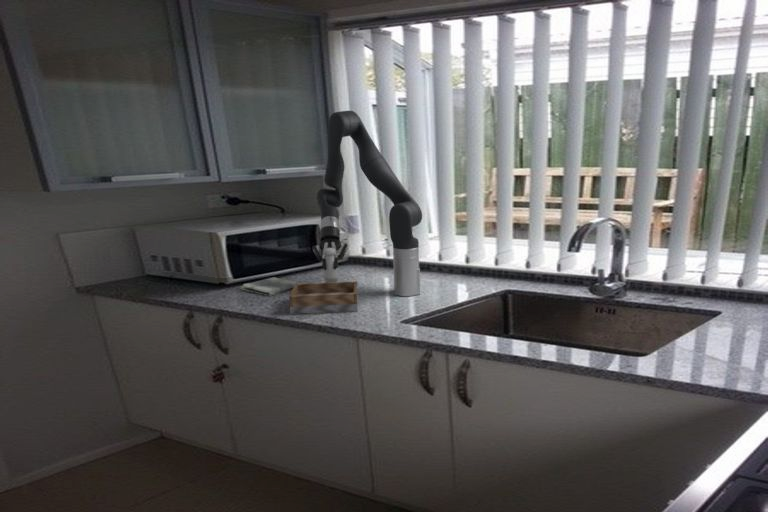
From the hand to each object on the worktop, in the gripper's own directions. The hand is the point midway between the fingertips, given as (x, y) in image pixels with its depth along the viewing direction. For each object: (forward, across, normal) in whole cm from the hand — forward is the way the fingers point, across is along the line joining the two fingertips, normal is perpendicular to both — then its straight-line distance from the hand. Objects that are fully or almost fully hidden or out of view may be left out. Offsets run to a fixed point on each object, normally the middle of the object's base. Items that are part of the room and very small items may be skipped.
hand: (330, 268), depth 192 cm
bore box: (+17, -1, -4) cm, 18 cm away
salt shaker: (+3, 0, +6) cm, 6 cm away
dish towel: (-1, -24, +16) cm, 29 cm away
